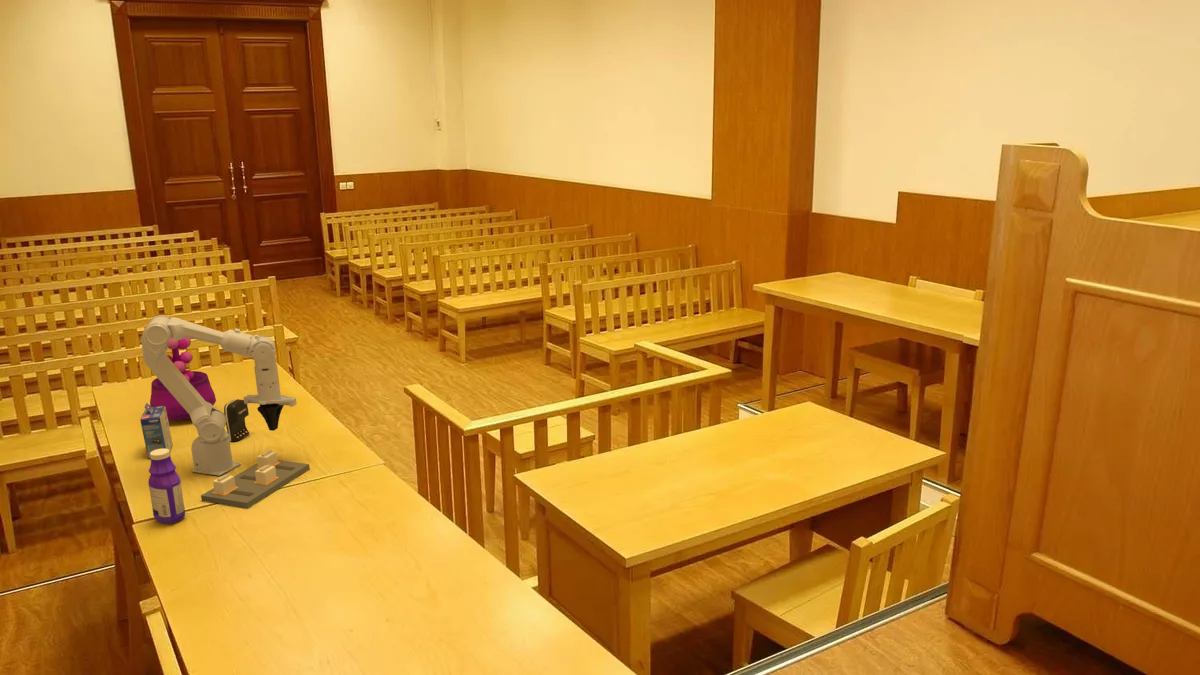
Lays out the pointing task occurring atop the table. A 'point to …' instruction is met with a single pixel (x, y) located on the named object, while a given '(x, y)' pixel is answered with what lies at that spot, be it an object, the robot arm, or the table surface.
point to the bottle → (165, 488)
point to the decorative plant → (196, 378)
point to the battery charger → (236, 419)
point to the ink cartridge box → (156, 429)
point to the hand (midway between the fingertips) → (273, 429)
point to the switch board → (256, 485)
